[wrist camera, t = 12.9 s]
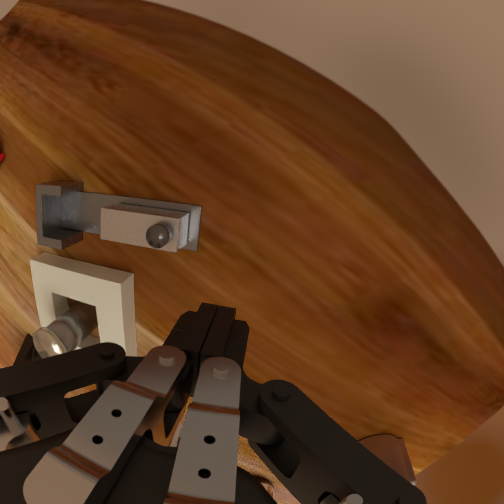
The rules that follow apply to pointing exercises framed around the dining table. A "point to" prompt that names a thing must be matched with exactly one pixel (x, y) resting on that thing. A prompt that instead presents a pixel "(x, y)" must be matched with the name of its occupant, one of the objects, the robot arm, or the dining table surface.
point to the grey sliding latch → (91, 213)
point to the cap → (2, 156)
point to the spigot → (66, 330)
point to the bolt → (145, 226)
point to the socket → (87, 297)
